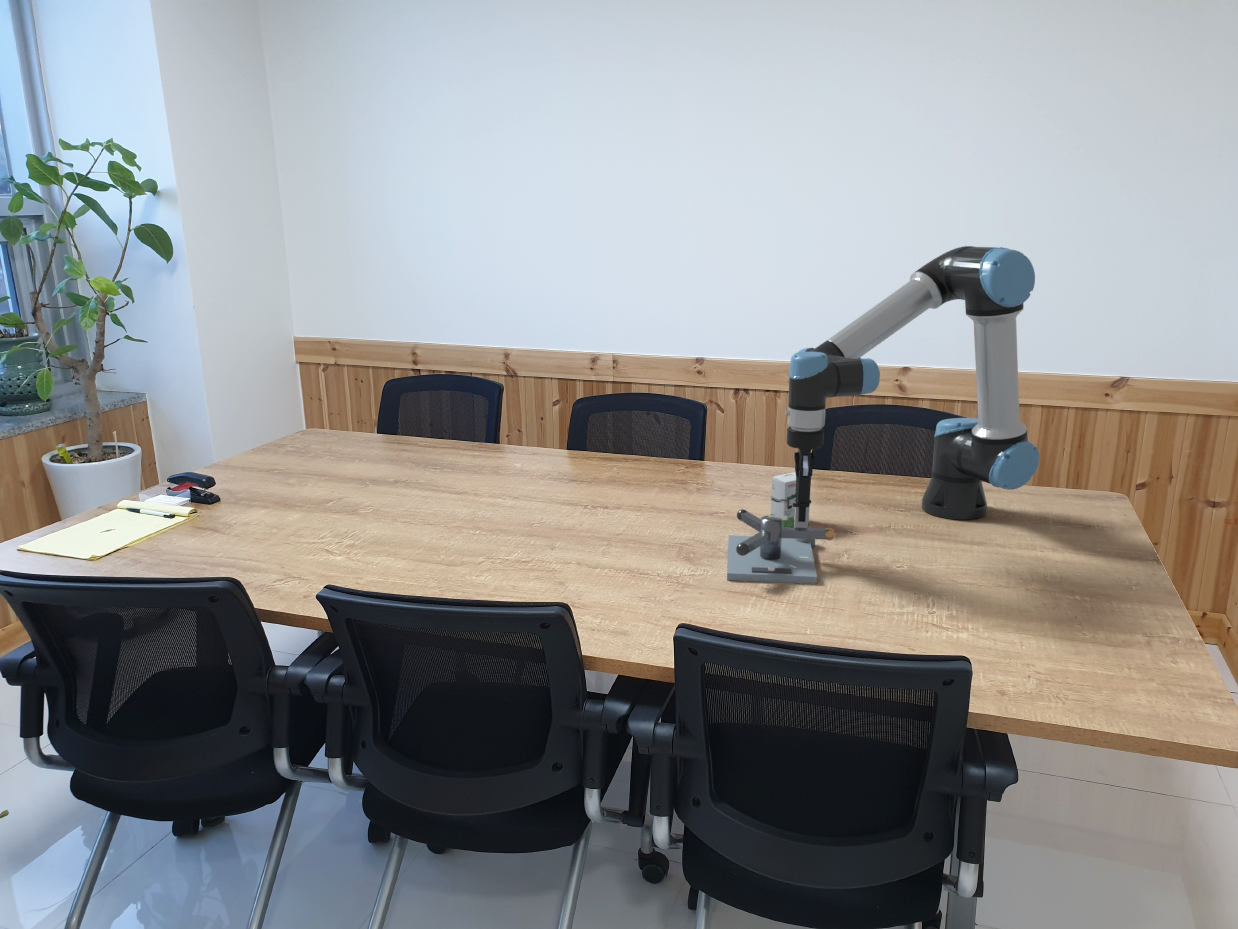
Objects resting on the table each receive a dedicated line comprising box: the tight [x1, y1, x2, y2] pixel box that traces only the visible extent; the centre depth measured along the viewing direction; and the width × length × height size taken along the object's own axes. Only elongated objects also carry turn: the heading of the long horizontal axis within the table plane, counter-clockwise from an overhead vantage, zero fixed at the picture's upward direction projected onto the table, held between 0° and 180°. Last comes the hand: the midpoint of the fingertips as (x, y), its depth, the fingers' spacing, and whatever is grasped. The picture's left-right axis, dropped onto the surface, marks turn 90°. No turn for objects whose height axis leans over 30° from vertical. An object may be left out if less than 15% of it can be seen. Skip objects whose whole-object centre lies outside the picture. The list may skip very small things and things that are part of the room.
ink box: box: [770, 471, 811, 528], centre depth 216 cm, size 9×5×12 cm, turn 123°
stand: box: [726, 534, 818, 585], centre depth 195 cm, size 19×23×3 cm
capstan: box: [736, 508, 836, 560], centre depth 192 cm, size 21×23×9 cm
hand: (800, 533), depth 195 cm, fingers closed
